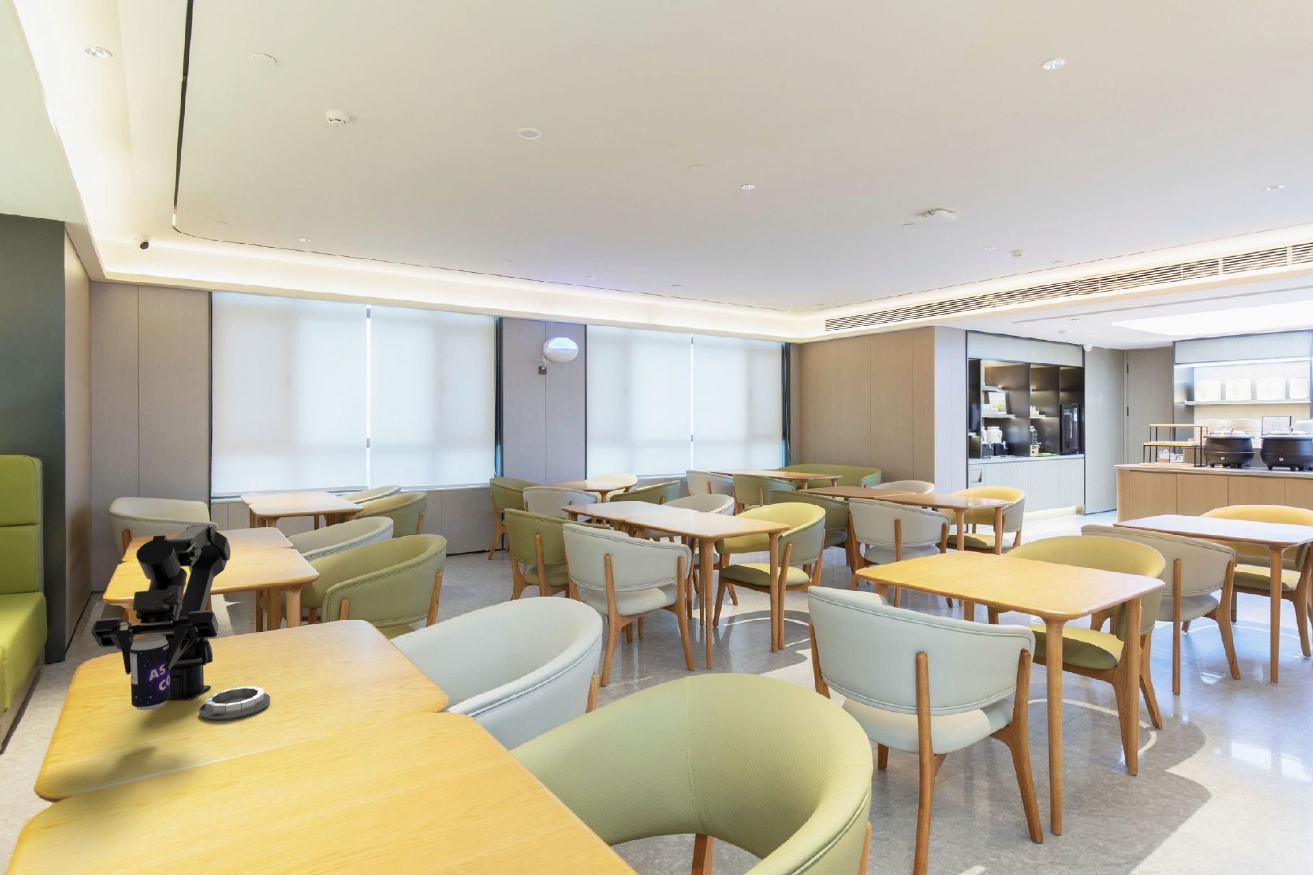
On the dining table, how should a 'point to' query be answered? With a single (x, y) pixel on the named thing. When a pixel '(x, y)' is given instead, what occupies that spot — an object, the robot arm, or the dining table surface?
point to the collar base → (236, 714)
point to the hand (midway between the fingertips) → (147, 671)
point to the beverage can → (149, 672)
